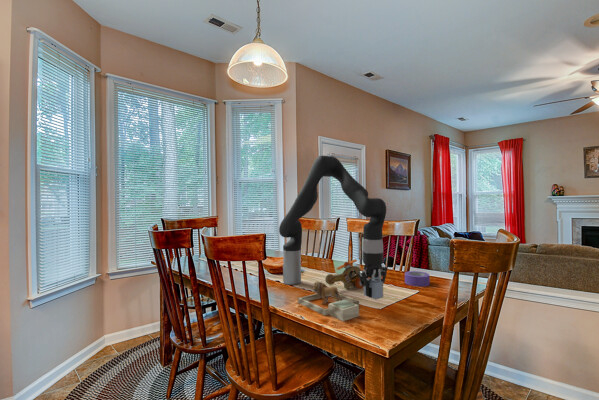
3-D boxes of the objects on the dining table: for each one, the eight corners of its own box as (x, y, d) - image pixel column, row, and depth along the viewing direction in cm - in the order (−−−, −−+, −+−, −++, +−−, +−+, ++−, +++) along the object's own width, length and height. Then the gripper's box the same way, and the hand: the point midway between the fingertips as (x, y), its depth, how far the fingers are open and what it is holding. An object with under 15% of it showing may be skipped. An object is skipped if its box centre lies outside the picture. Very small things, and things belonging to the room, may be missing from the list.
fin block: (363, 295, 116) (363, 279, 116) (371, 293, 118) (370, 278, 118) (375, 299, 111) (375, 283, 111) (383, 297, 113) (382, 281, 113)
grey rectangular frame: (297, 302, 127) (297, 292, 127) (330, 294, 137) (330, 285, 137) (338, 322, 105) (338, 310, 105) (374, 311, 115) (373, 300, 115)
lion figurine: (313, 304, 126) (309, 283, 127) (320, 301, 130) (316, 280, 131) (342, 305, 117) (337, 281, 118) (349, 301, 121) (345, 278, 122)
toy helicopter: (366, 287, 147) (365, 259, 147) (331, 294, 137) (331, 264, 137) (355, 283, 154) (355, 257, 154) (321, 290, 144) (321, 261, 144)
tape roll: (433, 286, 147) (433, 276, 147) (409, 287, 147) (409, 276, 147) (424, 280, 159) (423, 270, 159) (401, 280, 159) (401, 271, 159)
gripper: (378, 247, 121) (378, 289, 121) (352, 251, 113) (352, 296, 113) (393, 250, 115) (393, 294, 115) (367, 254, 107) (367, 302, 107)
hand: (373, 295), depth 114 cm, fingers closed on fin block, 4 cm apart
